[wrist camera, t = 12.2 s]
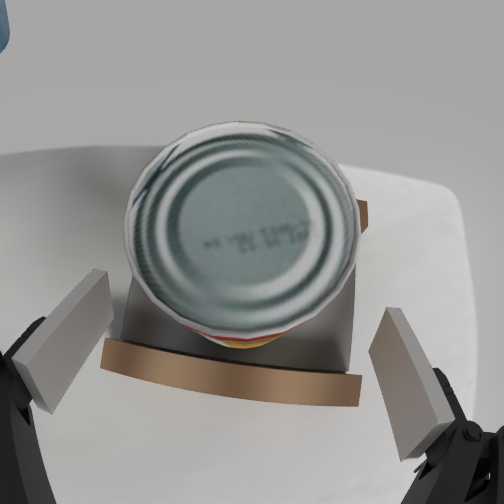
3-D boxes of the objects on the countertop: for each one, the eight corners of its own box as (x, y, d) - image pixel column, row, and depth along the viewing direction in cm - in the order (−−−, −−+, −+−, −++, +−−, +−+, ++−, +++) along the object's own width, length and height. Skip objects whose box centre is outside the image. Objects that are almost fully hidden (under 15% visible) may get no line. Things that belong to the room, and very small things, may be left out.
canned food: (320, 284, 21) (398, 202, 10) (249, 372, 19) (260, 394, 8) (235, 218, 23) (231, 93, 11) (162, 297, 20) (80, 227, 9)
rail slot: (118, 367, 19) (100, 367, 16) (158, 193, 24) (149, 172, 21) (343, 401, 19) (358, 406, 16) (354, 219, 24) (367, 201, 21)
